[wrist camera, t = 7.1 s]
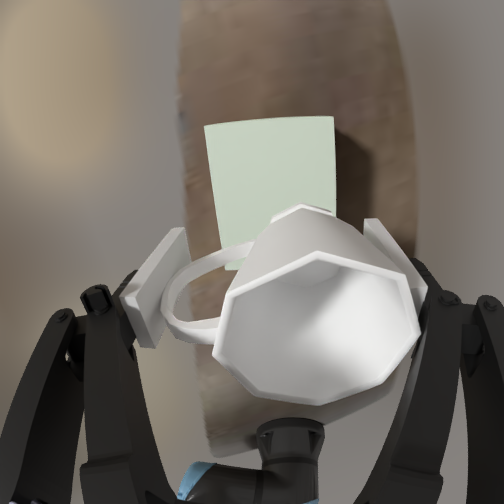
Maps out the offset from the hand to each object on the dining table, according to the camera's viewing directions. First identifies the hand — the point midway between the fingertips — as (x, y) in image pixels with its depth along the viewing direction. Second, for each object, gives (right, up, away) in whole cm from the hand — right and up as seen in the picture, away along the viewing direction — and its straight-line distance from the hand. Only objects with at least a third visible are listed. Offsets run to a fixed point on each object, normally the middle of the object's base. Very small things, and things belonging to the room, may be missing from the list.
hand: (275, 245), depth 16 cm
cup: (0, 0, 0) cm, 0 cm away
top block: (+1, +6, +11) cm, 12 cm away
